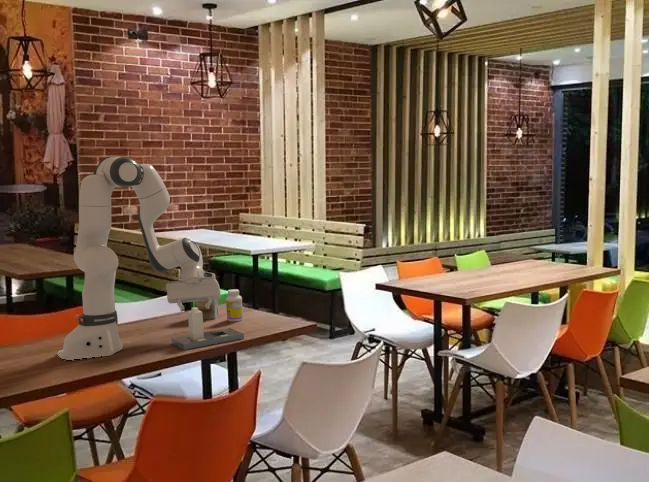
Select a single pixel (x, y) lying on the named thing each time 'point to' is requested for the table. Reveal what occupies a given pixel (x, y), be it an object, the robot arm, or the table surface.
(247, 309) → the table surface
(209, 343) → the panel
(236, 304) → the supplement bottle
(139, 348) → the table surface
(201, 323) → the plug
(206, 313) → the coffee box
